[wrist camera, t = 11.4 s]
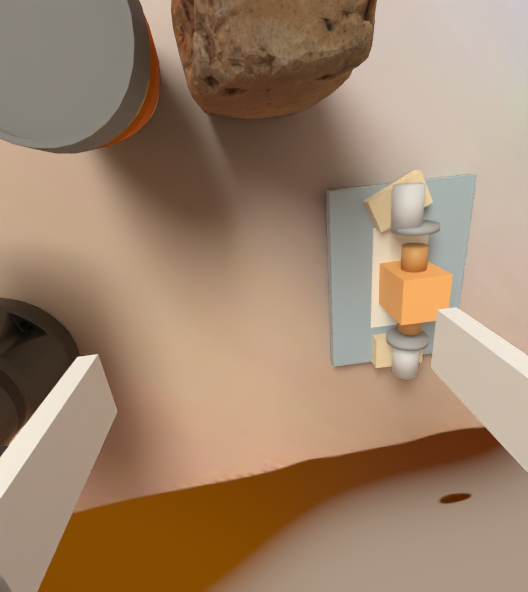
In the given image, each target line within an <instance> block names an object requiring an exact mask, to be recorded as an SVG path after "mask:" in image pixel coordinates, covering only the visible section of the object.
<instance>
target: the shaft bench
mask: <svg viewBox="0 0 528 592" xmlns="http://www.w3.org/2000/svg"><path fill="white" fill-rule="evenodd" d="M476 176H477V175H471V174H465V175H457V176H448V177H439V178H430V179H424V176H423V174H422V171H417V170H414V171H412V172H410V173H409V174H407V175H405V176H404V177H402V178H400V179H399V180H397V181H395V182H394V183H387V184H378V185H370V186H361V187H352V188H344V189H335V190H326V215H327V249H328V284H329V318H330V352H331V362H332V364H333V366H334V367H336V366H343V365H351V364H358V363H365V362H372V363H373V365H374V366H375V368H382V367H389V366H392V369H391V371H392V374H393V375H394V376H396V377H398V378H400V379H405V380H410V379H414V378H416V377H417V375H418V366H419V362H422V356H423V355H424V354H432V353H433V344H434V335H435V325H436V321H431V322H423V323H422V331H421V333H420V334H418V335H405V334H402V333H400V332H399V331H398V330H397V324H398V322H397V321H396V320H395V319H394V318H393V317H392V316H391V315H390V314H389V313H388V312H387V311H386V310H385V309H384V308H383V307H382V306H381V305H380V304H379V268H380V263H385V262H393V261H401V250H402V245H403V244H406V243H425V244H428V245H429V251H428V261H429V262H431V263H432V264H434V265H436V266H438V267H440V268H442V269H443V270H445V271H447V272H449V273H451V274H453V277H452V285H451V294H450V302H449V308H454V307H457V308H458V309H459V302H460V294H461V287H462V280H463V272H464V265H465V257H466V250H467V242H468V235H469V228H470V220H471V213H472V205H473V198H474V191H475V183H476Z"/></svg>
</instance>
